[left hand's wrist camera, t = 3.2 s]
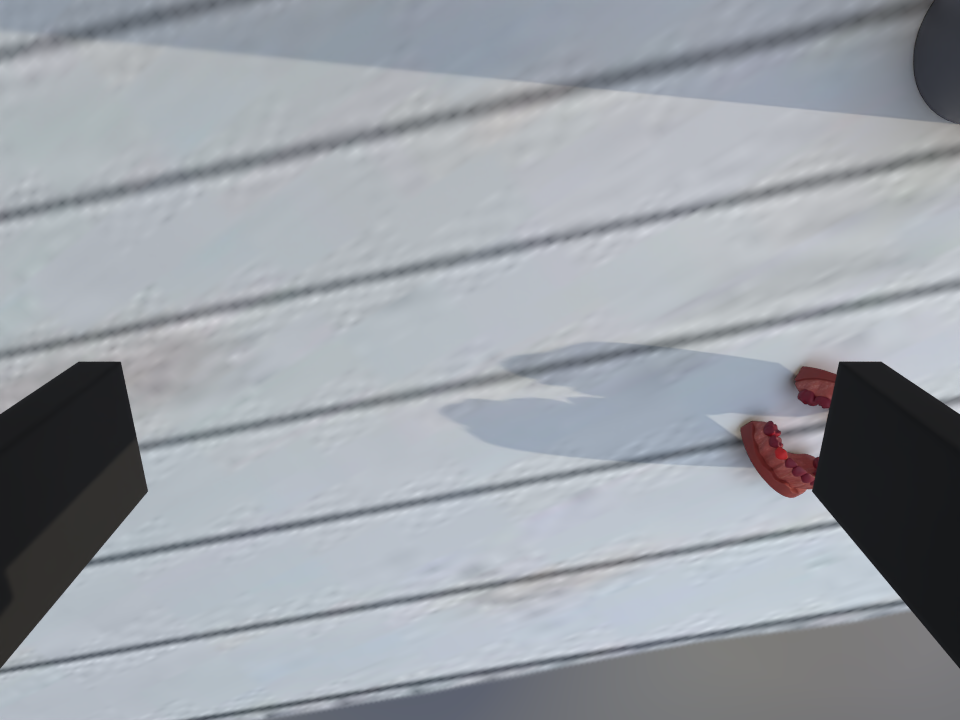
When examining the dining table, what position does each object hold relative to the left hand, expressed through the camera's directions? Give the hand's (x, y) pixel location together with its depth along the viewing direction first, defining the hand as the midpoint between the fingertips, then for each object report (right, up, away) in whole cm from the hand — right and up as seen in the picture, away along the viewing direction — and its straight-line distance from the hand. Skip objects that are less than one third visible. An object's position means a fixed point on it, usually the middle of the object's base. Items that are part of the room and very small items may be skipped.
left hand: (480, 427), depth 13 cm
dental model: (+21, -3, +31) cm, 37 cm away
